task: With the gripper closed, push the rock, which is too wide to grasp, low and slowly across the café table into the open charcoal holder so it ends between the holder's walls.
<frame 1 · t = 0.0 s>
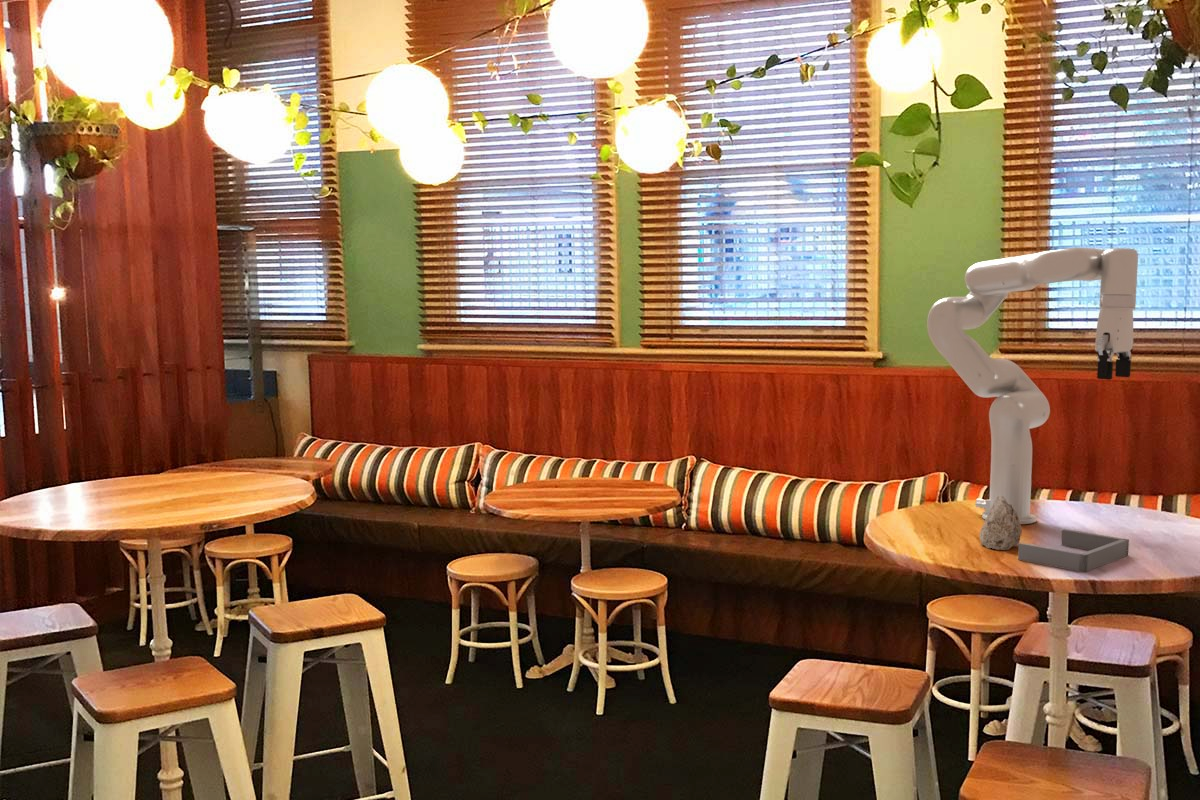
hand: (1113, 377, 265), 37 cm above the table, tool pointing down, fingers open, 9 cm apart
holder: (1073, 557, 247), on the table
rock: (1001, 545, 259), on the table
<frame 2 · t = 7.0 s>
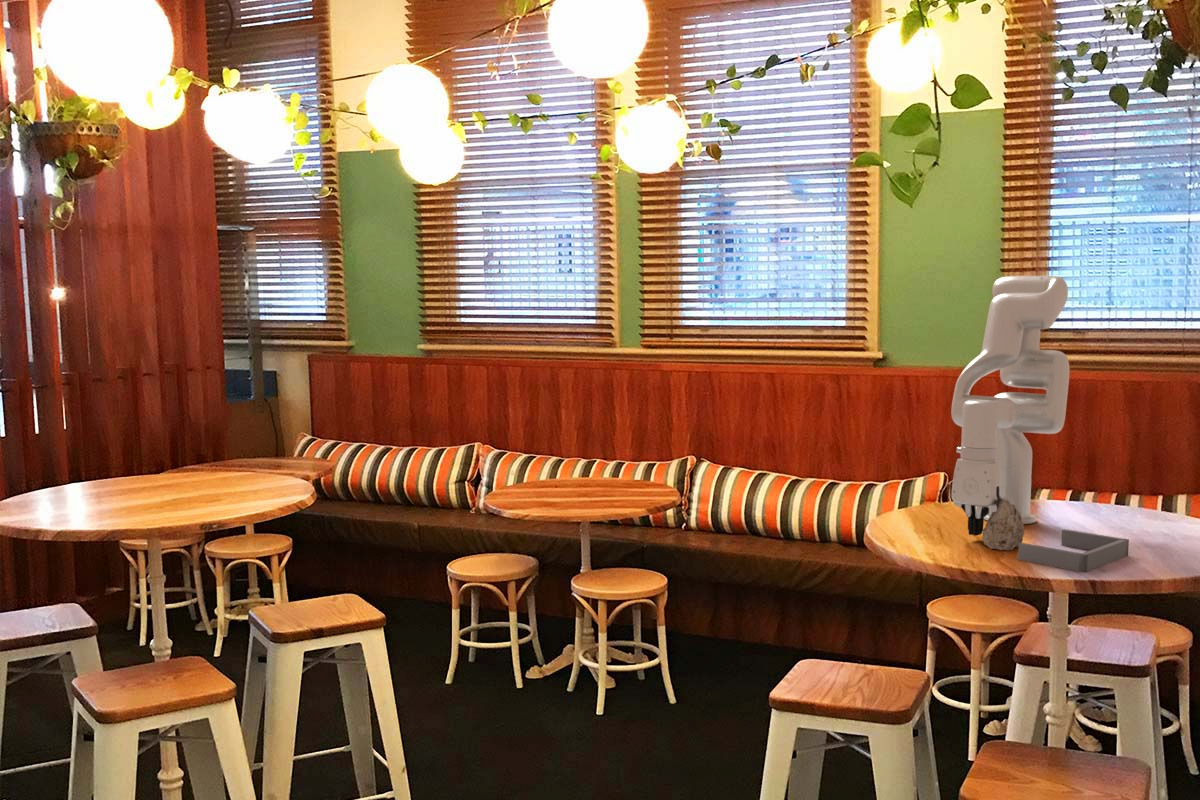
hand: (975, 534, 264), 1 cm above the table, tool pointing down, fingers closed
rock: (1003, 546, 259), on the table, touching gripper
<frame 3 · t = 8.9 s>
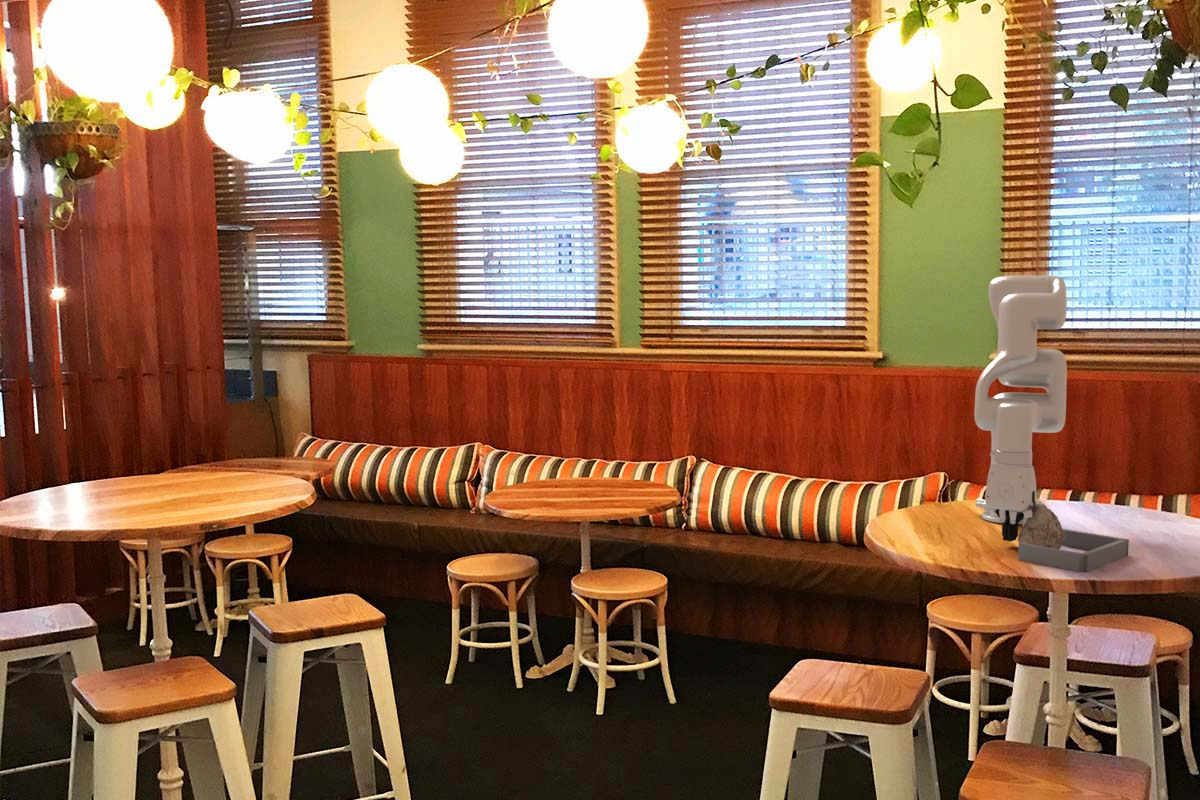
hand: (1009, 540, 257), 1 cm above the table, tool pointing down, fingers closed
rock: (1041, 551, 253), on the table, touching gripper
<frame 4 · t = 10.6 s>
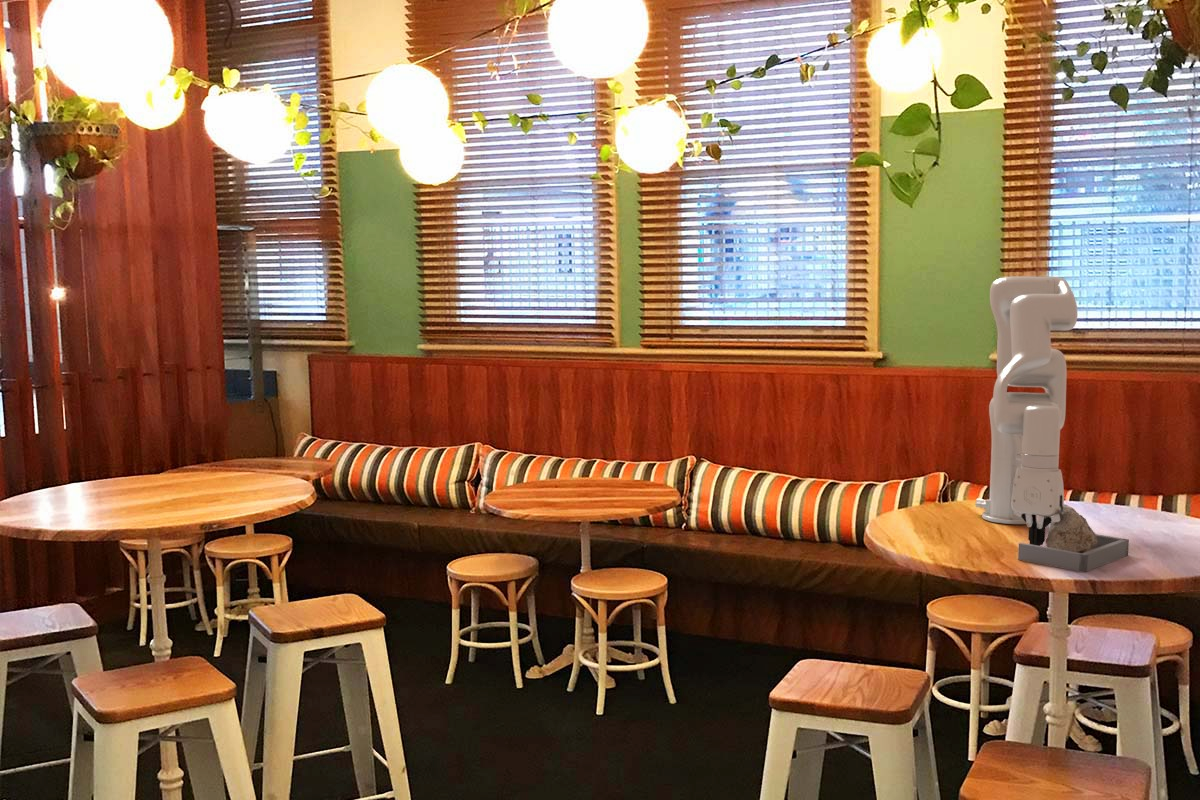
hand: (1036, 544, 253), 1 cm above the table, tool pointing down, fingers closed
rock: (1070, 555, 250), on the table, touching gripper
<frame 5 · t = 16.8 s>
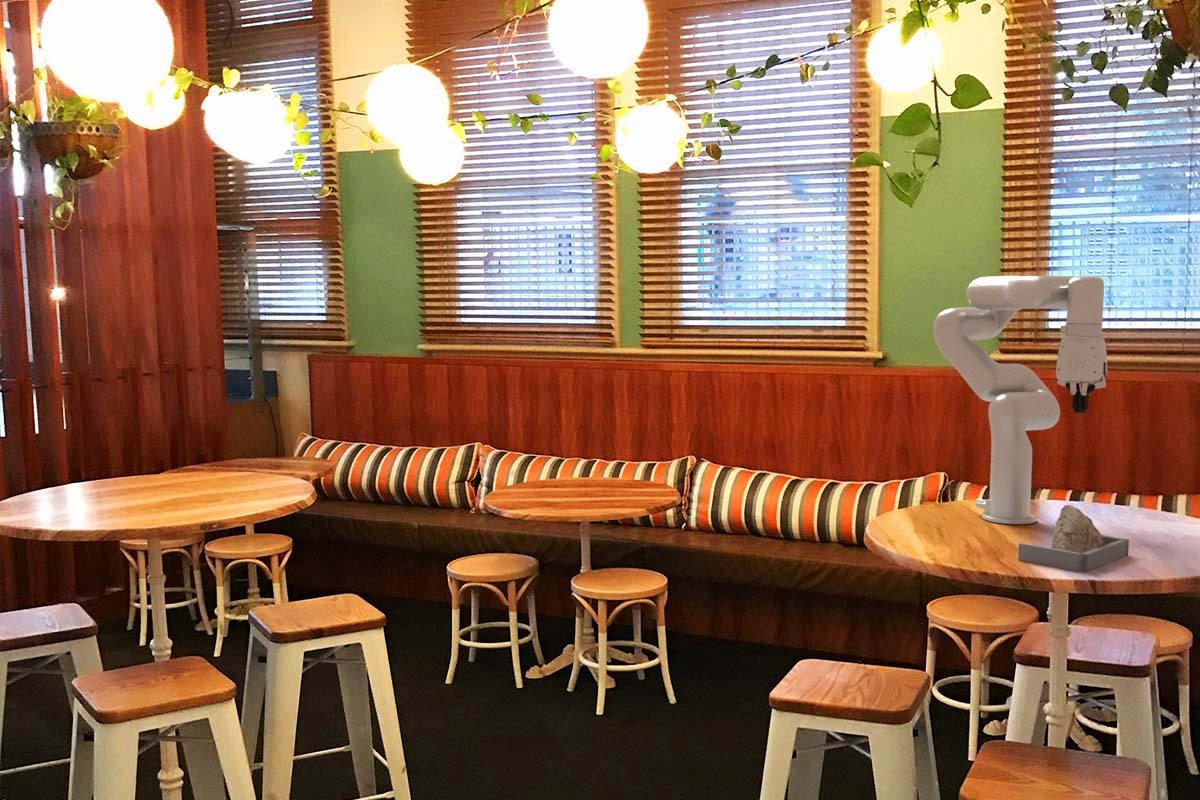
hand: (1080, 412, 263), 29 cm above the table, tool pointing down, fingers closed
rock: (1076, 557, 249), on the table
at the end: rock inside the target area (2.3 cm from its centre), on the table; rock moved 16.2 cm from its start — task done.
